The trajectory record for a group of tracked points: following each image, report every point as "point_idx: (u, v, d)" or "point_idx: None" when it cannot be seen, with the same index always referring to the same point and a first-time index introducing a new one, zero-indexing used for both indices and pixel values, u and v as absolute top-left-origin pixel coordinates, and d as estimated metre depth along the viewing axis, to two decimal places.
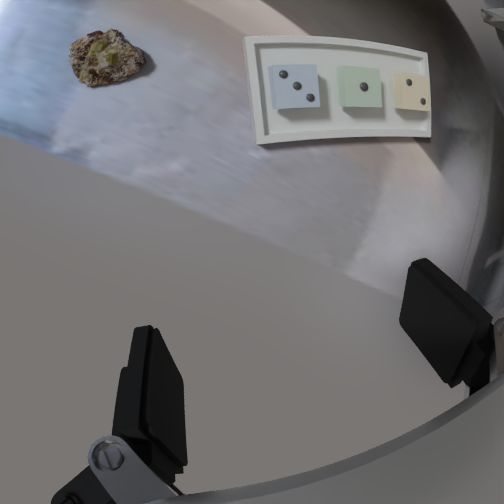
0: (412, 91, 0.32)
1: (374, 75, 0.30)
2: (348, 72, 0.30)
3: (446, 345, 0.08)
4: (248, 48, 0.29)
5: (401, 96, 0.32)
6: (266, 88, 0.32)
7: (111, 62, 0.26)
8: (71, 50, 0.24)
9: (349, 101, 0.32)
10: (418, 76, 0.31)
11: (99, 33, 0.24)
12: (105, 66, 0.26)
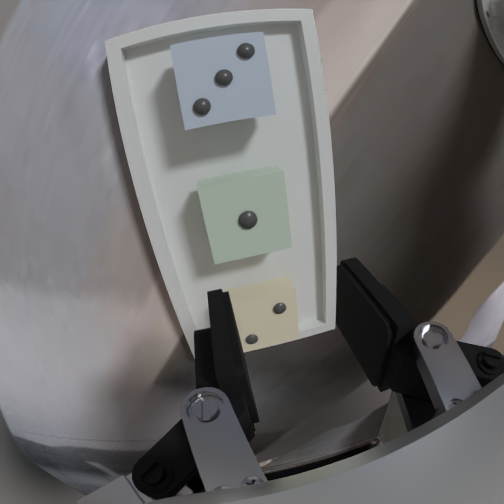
0: (264, 317, 0.23)
1: (276, 239, 0.20)
2: (272, 184, 0.18)
3: (370, 347, 0.09)
4: (290, 11, 0.15)
5: (248, 299, 0.22)
6: None
7: None
8: None
9: (209, 191, 0.18)
10: (295, 323, 0.24)
11: None
12: None
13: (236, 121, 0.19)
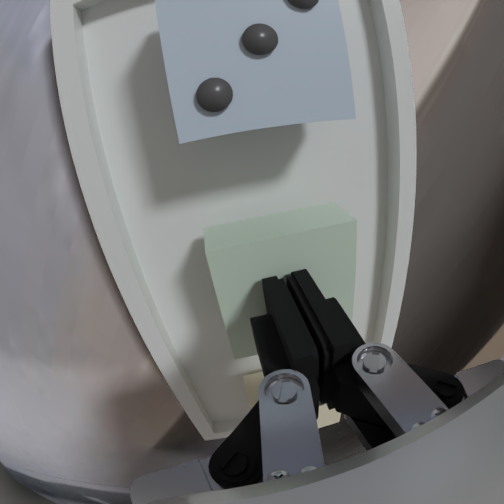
0: None
1: None
2: (336, 241, 0.10)
3: None
4: None
5: None
6: None
7: None
8: None
9: (227, 257, 0.10)
10: None
11: None
12: None
13: None
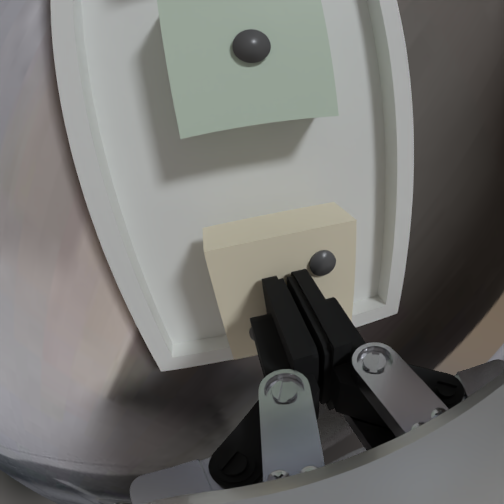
0: None
1: (308, 94, 0.09)
2: None
3: None
4: None
5: (255, 238, 0.10)
6: None
7: None
8: None
9: None
10: (348, 298, 0.12)
11: None
12: None
13: None
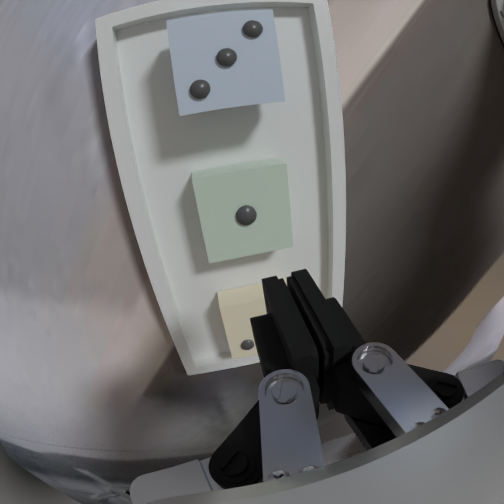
0: None
1: (276, 237, 0.18)
2: (273, 177, 0.17)
3: None
4: None
5: (244, 301, 0.20)
6: None
7: None
8: None
9: (205, 183, 0.16)
10: None
11: None
12: None
13: (238, 110, 0.16)
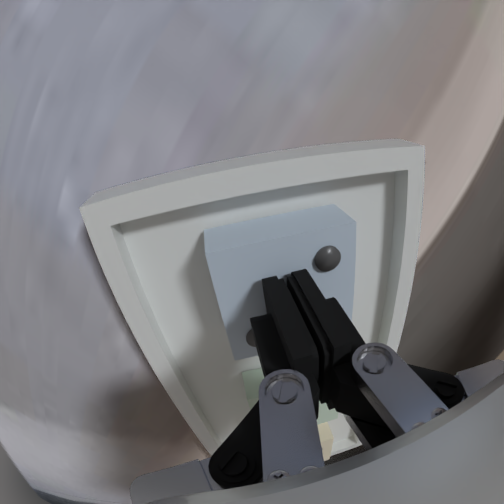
0: None
1: (323, 417, 0.17)
2: None
3: None
4: (396, 153, 0.10)
5: None
6: (269, 208, 0.12)
7: None
8: None
9: None
10: (328, 453, 0.21)
11: None
12: None
13: None
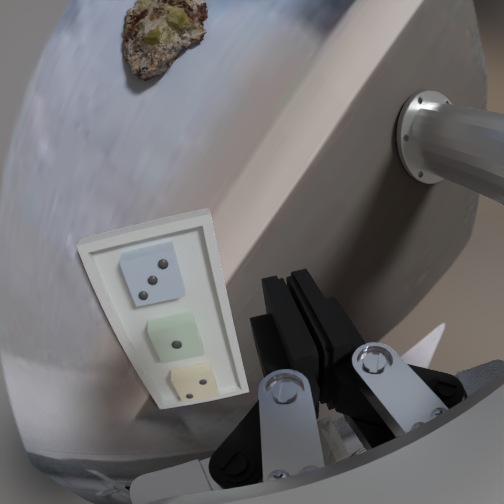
0: (194, 386, 0.36)
1: (194, 352, 0.33)
2: (187, 328, 0.32)
3: None
4: (194, 220, 0.28)
5: (183, 377, 0.35)
6: (146, 245, 0.28)
7: (145, 37, 0.18)
8: None
9: (154, 333, 0.31)
10: (214, 388, 0.37)
11: (201, 17, 0.20)
12: (144, 30, 0.19)
13: None
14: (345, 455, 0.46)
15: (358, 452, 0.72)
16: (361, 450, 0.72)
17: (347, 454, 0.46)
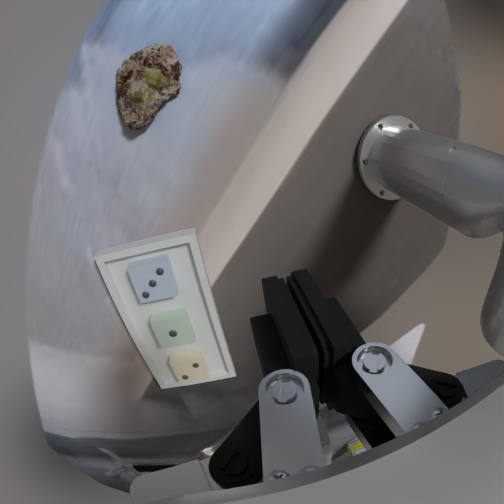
0: (189, 368, 0.45)
1: (187, 340, 0.42)
2: (181, 320, 0.40)
3: None
4: (182, 238, 0.36)
5: (179, 361, 0.44)
6: (147, 256, 0.37)
7: (132, 97, 0.27)
8: (159, 47, 0.25)
9: (155, 324, 0.40)
10: (205, 371, 0.46)
11: (175, 75, 0.27)
12: (131, 90, 0.27)
13: None
14: (326, 440, 0.54)
15: (350, 442, 0.80)
16: (352, 441, 0.79)
17: (328, 440, 0.54)
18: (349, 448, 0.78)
